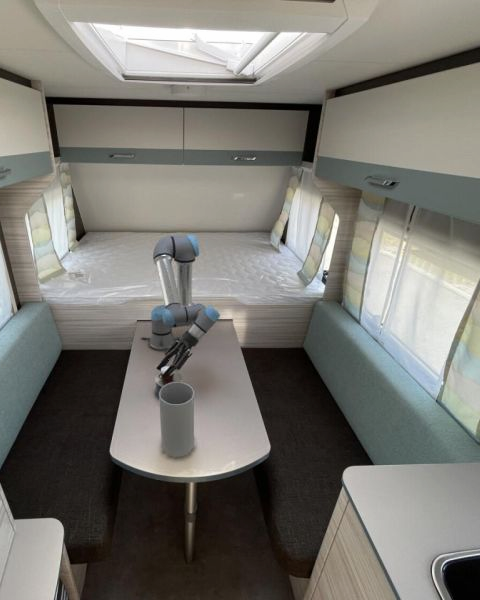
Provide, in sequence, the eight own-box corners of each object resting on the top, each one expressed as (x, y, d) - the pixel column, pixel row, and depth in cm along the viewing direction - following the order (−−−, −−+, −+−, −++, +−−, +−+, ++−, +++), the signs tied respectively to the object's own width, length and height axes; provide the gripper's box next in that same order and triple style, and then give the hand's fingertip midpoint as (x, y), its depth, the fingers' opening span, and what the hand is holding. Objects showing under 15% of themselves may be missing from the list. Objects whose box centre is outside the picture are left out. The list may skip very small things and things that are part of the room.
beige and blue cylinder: (150, 391, 155) (149, 377, 152) (170, 380, 163) (169, 366, 160) (167, 404, 147) (167, 390, 144) (187, 391, 155) (187, 378, 152)
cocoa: (158, 383, 148) (157, 361, 144) (158, 374, 154) (157, 353, 149) (179, 381, 149) (179, 359, 145) (178, 373, 155) (177, 352, 150)
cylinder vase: (198, 452, 123) (199, 400, 113) (166, 462, 119) (164, 408, 109) (187, 428, 134) (187, 379, 124) (158, 436, 130) (155, 386, 120)
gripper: (208, 349, 143) (174, 389, 143) (190, 330, 159) (159, 366, 159) (197, 341, 139) (162, 382, 139) (179, 322, 155) (148, 359, 155)
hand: (161, 373), depth 149 cm, fingers closed on cocoa, 6 cm apart
